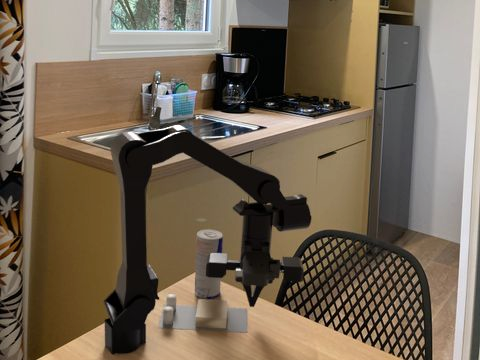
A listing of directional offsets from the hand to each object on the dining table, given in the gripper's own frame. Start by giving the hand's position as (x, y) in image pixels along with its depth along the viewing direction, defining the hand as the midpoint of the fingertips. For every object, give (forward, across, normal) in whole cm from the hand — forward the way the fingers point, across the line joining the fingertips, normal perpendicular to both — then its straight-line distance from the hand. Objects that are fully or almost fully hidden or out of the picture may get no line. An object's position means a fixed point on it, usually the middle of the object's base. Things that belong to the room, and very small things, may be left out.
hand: (251, 305), depth 108 cm
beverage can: (+4, -9, +10) cm, 15 cm away
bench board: (+4, -9, 0) cm, 10 cm away
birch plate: (+3, -8, 0) cm, 9 cm away
